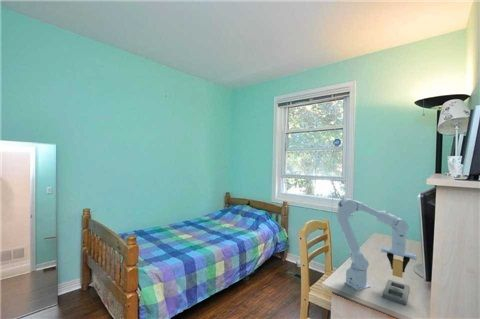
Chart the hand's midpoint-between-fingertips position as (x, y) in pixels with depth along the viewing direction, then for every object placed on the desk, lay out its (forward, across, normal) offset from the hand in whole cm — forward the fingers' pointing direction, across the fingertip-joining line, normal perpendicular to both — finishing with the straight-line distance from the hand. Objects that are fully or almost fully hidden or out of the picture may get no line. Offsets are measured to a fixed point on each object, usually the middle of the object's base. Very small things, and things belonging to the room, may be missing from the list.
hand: (397, 270), depth 115 cm
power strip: (+9, 0, +4) cm, 10 cm away
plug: (+2, 0, 0) cm, 3 cm away
